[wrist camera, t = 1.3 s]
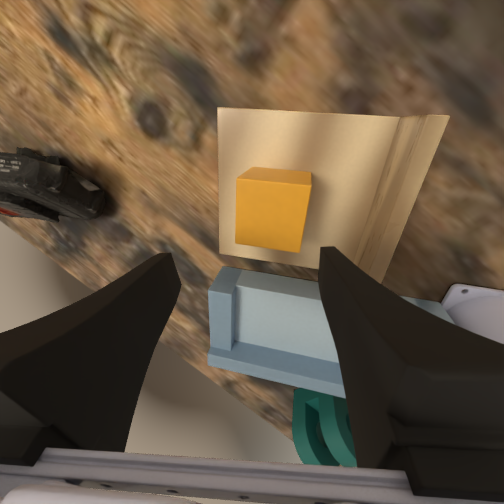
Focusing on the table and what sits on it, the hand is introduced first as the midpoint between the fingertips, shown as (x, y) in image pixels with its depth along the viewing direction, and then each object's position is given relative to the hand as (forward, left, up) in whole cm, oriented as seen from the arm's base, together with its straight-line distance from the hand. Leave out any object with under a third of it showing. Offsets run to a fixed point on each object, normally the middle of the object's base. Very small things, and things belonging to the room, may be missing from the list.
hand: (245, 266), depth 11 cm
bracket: (-15, +31, -12) cm, 36 cm away
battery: (+23, +1, -12) cm, 26 cm away
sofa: (-6, +13, -12) cm, 18 cm away
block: (0, -1, -9) cm, 9 cm away
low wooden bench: (-2, -1, -12) cm, 12 cm away
